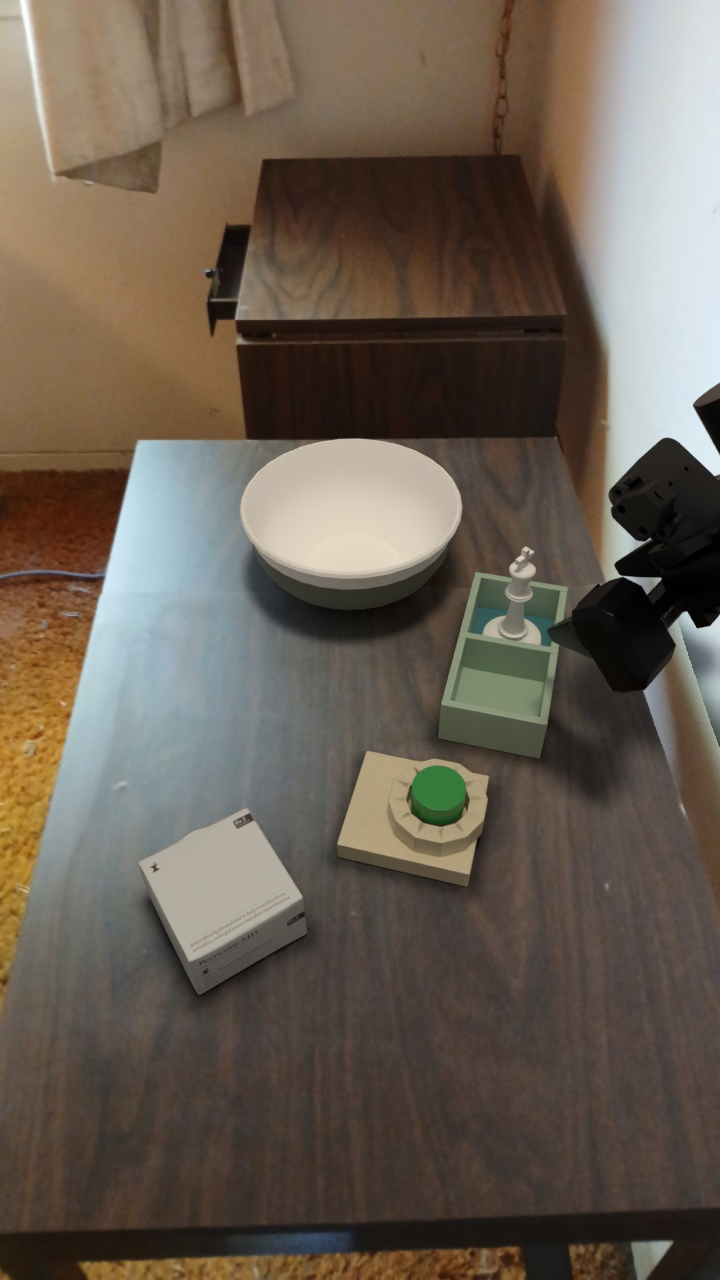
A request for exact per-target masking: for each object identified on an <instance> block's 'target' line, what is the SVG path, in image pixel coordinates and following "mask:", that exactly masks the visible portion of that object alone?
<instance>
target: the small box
mask: <svg viewBox="0 0 720 1280" xmlns="http://www.w3.org/2000/svg"><path fill="white" fill-rule="evenodd" d="M137 868H138V869H139V872H140V875H141V877H142V880H143V883H144V885H145V887H146V891H147V893H148V896H149V899H150V901H151V902H152V905H153V906H154V908H155V911H156V913H157V915H158V917H159V920H160V921H161V923H162V925H163V928H164V929H165V930H164V931H165V933H166V934H167V936H168V938H169V940H170V942H171V944H172V946H173V949H174V950H175V953H176V955H177V956H178V959H179V961H180V963H181V965H182V966H183V969H184V971H185V973H186V975H187V978H188V979H189V981H190V983H191V984H192V987H193V988H194V991H195V992H196V994H197V995H198V996H200V995H202V994H205V993H206V992H207V991H210V990H211V989H213V988H214V987H216V986H218V985H220V984H221V983H222V982H224V981H226V980H227V979H229V978H231V977H233V976H235V975H236V974H238V973H240V972H241V971H244V970H245V969H246V968H248V967H250V966H252V965H253V964H255V963H257V962H258V961H260V960H262V959H264V958H267V956H270V954H273V953H275V952H276V951H277V950H280V949H282V948H283V947H285V946H287V945H289V944H290V943H292V942H294V941H296V940H298V939H300V938H302V937H304V936H305V935H307V933H308V928H307V927H308V926H307V918H306V911H305V901H304V897H303V895H302V893H301V891H300V890H299V888H298V887H297V885H296V884H295V882H294V880H293V878H292V877H291V875H290V874H289V871H288V870H287V869H286V867H285V865H284V863H283V862H282V860H281V859H280V857H279V855H278V854H277V852H276V850H275V848H274V847H273V845H272V844H271V842H270V840H269V839H268V837H267V836H266V834H265V833H264V831H263V829H262V828H261V826H260V824H259V822H258V821H257V820H256V818H255V816H254V814H253V813H252V811H251V809H250V808H249V807H245V808H242V809H240V810H239V811H236V812H234V813H231V814H230V815H228V816H226V817H224V818H222V819H220V820H219V821H216V822H214V823H213V824H210V825H208V826H206V827H202V828H197V829H195V830H192V831H190V832H188V834H186V835H185V836H184V837H183V838H181V840H179V841H177V842H175V843H173V844H171V845H169V846H167V847H165V848H163V849H161V850H159V851H157V852H155V853H153V854H151V855H150V856H147V857H145V858H143V859H140V860H139V861H138V862H137Z"/></svg>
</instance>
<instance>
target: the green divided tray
mask: <svg viewBox="0 0 720 1280" xmlns="http://www.w3.org/2000/svg"><path fill="white" fill-rule="evenodd" d="M510 583H512V579H511V576H510V577H509V576H503V575H497V574H491V573H486V572H479V571H475V572H474V576H473V579H472V584H471V587H470V591H469V594H468V598H467V603H466V607H465V610H464V614H463V618H462V622H461V625H460V630H459V633H458V637H457V642H456V645H455V648H454V653H453V657H452V660H451V664H450V667H449V672H448V674H447V675H448V676H447V680H446V684H445V688H444V691H443V695H442V698H441V699H442V700H441V703H440V710H439V711H440V712H439V722H438V725H439V726H438V734H437V735H438V736H437V739H440V740H445V741H449V742H453V743H460V744H464V745H469V746H473V747H478V748H483V749H487V750H488V749H489V750H494V751H499V752H503V753H509V754H513V755H517V756H524V757H529V758H532V759H538V760H540V759H541V755H542V750H543V746H544V741H545V738H546V733H547V728H548V724H549V718H550V717H549V716H550V710H551V705H552V699H553V698H552V697H553V690H554V684H555V683H554V682H555V677H556V671H557V666H558V665H557V664H558V658H559V651H560V645H559V644H556V643H554V642H553V641H552V640H551V638H550V636H549V635H548V633H547V629H548V628H549V627H551V626H553V625H554V624H556V623H558V622H560V621H562V620H564V619H565V613H566V612H565V611H566V604H567V598H568V591H569V587H568V586H564V585H557V584H553V583H545V582H540V581H533V580H531V581H530V583H529V586H530V587H531V589H532V592H533V595H532V598H531V599H530V600H528V601H526V602H524V618H525V619H527V620H529V621H530V622H532V623H533V624H534V625H535V626H536V627H537V628H538V630H539V631H540V634H541V645H536V644H531V643H525V642H519V641H514V640H508V639H502V638H497V637H491V636H486V635H482V633H483V630H484V627H485V626H486V624H487V623H488V622H490V621H491V620H492V619H494V618H497V617H500V616H506V615H507V612H508V608H509V605H510V602H511V600H510V599H509V598H508V597H507V596H506V594H505V589H506V588H507V586H508V585H509V584H510Z"/></svg>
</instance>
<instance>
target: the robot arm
mask: <svg viewBox="0 0 720 1280" xmlns="http://www.w3.org/2000/svg"><path fill="white" fill-rule="evenodd" d="M692 408H693V409H694V411H695V413H696V414H697V416H698V418H699V420H700V422H701V424H702V426H703V428H704V429H705V431H706V433H707V435H708V436H709V437H708V438H709V439H710V440H711V442H712V444H713V446H714V448H715V450H716V451H717V453H718V455H719V456H720V382H718V383H717V384H715V385H714V386H712V387H710V388H709V389H708V390H707V391H705V392H704V393H702V394H701V395H700V396H699V397H698V398H697V399H695V400H694V402H693V404H692ZM607 494H608V500H609V502H610V504H611V505H612V506H611V507H610V514H611V517H612V519H613V520H614V521H615V522H616V523H617V524H618V525H619V526H620V527H621V528H622V529H624V530H625V532H626V533H627V534H628V535H630V537H632V538H633V539H634V540H635V541H637V542H642V544H641V545H640V546H637V547H636V548H635V549H633V550H632V551H630V552H629V553H627V554H626V555H624V556H623V557H621V558H620V559H618V560H617V561H615V563H614V564H613V566H614V568H615V570H616V572H617V574H618V575H620V577H616V578H613V579H610V580H608V581H606V582H604V583H603V584H600V583H597V584H596V585H595V586H594V587H592V589H591V590H590V591H589V592H588V593H586V595H584V596H583V598H582V599H581V600H579V602H578V603H577V604H576V605H575V607H574V608H573V609H572V610H571V615H570V616H569V617H566V618H564V619H563V620H562V621H560V622H558V623H556V624H554V625H553V626H551V627H549V628H548V629H547V633H548V635H549V636H550V638H551V640H552V641H553V642H554V643H556V644H559V646H561V647H563V648H565V649H568V650H570V651H572V652H575V653H577V654H580V655H583V656H585V657H587V658H589V659H592V661H593V662H594V663H595V665H596V667H597V668H598V669H599V672H600V673H601V675H602V676H603V678H604V680H605V681H606V684H607V685H608V686H609V688H610V690H611V691H612V692H614V693H618V694H626V693H627V694H629V693H635V692H642V691H646V689H647V688H648V687H649V686H650V685H651V684H652V682H653V681H654V680H655V679H656V678H657V676H658V675H660V673H661V672H662V671H663V670H664V669H665V667H666V666H667V665H668V664H669V663H670V661H672V659H673V656H674V654H675V653H674V652H675V650H676V648H677V644H676V642H675V640H674V639H673V637H672V635H671V634H670V632H669V629H670V628H671V627H672V626H673V624H674V623H675V622H676V621H677V620H678V619H679V618H680V617H681V615H683V613H687V614H688V616H689V617H690V619H691V621H692V623H693V624H694V626H695V628H696V629H702V628H707V627H711V626H712V625H713V624H714V623H715V621H716V620H717V619H718V618H719V616H720V473H719V474H716V475H714V474H713V473H712V472H711V471H710V470H709V469H708V467H706V466H705V465H704V464H703V463H701V462H700V460H699V459H697V457H695V456H694V455H693V454H692V453H691V451H689V450H688V449H687V448H686V447H685V446H683V444H681V442H679V441H678V440H677V439H674V438H672V437H663V438H660V439H659V441H657V442H656V443H655V444H654V445H652V446H651V448H650V449H649V450H647V451H646V452H645V453H644V454H643V455H642V456H641V457H640V458H638V459H637V460H636V461H635V463H634V464H633V465H631V467H629V469H628V470H627V471H626V472H625V473H624V474H623V475H622V476H621V477H620V478H619V479H618V480H617V481H616V483H614V485H613V486H612V487H610V489H609V491H608V493H607ZM627 577H629V578H648V579H649V578H651V579H652V578H657V579H658V578H660V580H659V581H658V582H657V584H656V585H655V586H654V587H653V588H652V589H651V590H650V591H649V592H648V593H647V592H646V591H645V589H644V587H643V586H642V585H641V584H639V583H637V582H635V581H633V580H631V579H629V578H627Z"/></svg>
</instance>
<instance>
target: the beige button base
mask: <svg viewBox="0 0 720 1280" xmlns="http://www.w3.org/2000/svg"><path fill="white" fill-rule="evenodd" d="M437 765H438V766H446V767H449V768H451V769H453V770H455V771H456V772H458V773H459V774H460V775H461V777H462V778H463V779H464V781H465V784H466V797H465V805H464V809H463V812H462V813H461V815H460V816H459V817H458V818H457V819H456V820H454V821H452V822H450V823H447V824H442V825H437V824H431V823H428V822H426V821H424V820H422V819H421V818H420V817H418V816H417V814H416V813H415V812H414V810H413V808H412V805H411V793H412V782H413V780H414V778H415V776H416V775H417V774H418V773H419V772H420V771H421V770H423V769H424V768H427V767H430V766H437ZM489 780H490V776H489V775H486V774H481V773H478V772H477V773H476V772H471V771H470V770H469V769H467V768H466V767H465V766H463V765H462V764H461V763H459V762H453V761H449V760H444V759H440V758H431V759H427V760H423V761H419V760H414V759H410V758H405V757H401V756H394V755H390V754H385V753H380V752H375V751H371V750H366V751H365V755H364V758H363V761H362V764H361V766H360V770H359V773H358V777H357V779H356V782H355V786H354V789H353V793H352V795H351V799H350V801H349V804H348V808H347V811H346V814H345V817H344V821H343V822H342V823H343V824H342V827H341V829H340V833H339V835H338V840H337V843H336V851H337V857H338V858H341V859H345V860H349V861H354V862H358V863H363V864H367V865H372V866H375V867H380V868H384V869H388V870H392V871H398V872H401V873H405V874H411V875H414V876H418V877H423V878H427V879H432V880H437V881H440V882H445V883H448V884H453V885H458V886H461V887H465V888H468V886H469V884H470V878H471V874H472V868H473V863H474V859H475V858H474V857H475V854H476V847H477V842H478V838H479V837H480V836H482V834H483V829H484V824H485V820H486V819H485V818H486V813H487V808H488V803H489V802H488V801H489V799H488V796H487V792H488V788H489Z"/></svg>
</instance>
